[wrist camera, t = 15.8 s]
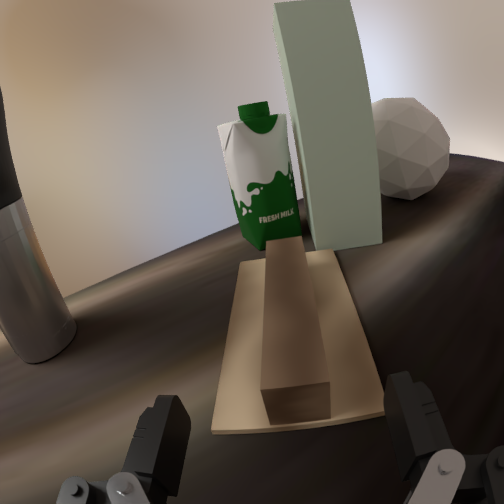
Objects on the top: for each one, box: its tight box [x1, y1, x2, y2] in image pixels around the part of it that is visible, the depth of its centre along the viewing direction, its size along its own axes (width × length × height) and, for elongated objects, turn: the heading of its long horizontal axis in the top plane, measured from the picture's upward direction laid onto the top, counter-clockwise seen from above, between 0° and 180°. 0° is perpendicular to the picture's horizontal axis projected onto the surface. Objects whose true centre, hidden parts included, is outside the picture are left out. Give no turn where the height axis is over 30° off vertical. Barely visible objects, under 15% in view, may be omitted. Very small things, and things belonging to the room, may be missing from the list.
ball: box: [371, 98, 450, 200], centre depth 52 cm, size 19×20×20 cm
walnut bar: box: [260, 236, 331, 426], centre depth 27 cm, size 4×21×4 cm, turn 177°
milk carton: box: [217, 101, 302, 250], centre depth 45 cm, size 9×9×20 cm
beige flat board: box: [211, 249, 385, 434], centre depth 30 cm, size 12×25×1 cm, turn 177°
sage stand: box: [273, 0, 382, 251], centre depth 40 cm, size 9×13×32 cm
